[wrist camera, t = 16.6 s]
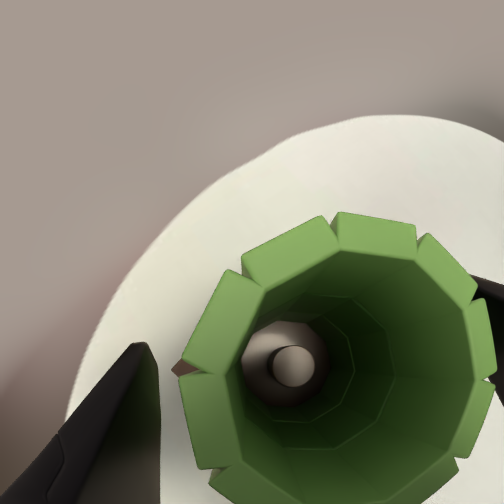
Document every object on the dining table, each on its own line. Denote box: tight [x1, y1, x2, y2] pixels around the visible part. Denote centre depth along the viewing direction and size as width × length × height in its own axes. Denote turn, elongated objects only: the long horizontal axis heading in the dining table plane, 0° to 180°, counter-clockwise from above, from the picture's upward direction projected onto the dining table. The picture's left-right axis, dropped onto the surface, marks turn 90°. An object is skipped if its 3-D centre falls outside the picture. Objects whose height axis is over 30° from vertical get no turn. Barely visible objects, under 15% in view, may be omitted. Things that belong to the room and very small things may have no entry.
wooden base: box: [171, 320, 331, 407], centre depth 15 cm, size 9×9×4 cm
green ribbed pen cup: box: [178, 212, 497, 504], centre depth 10 cm, size 6×7×12 cm
